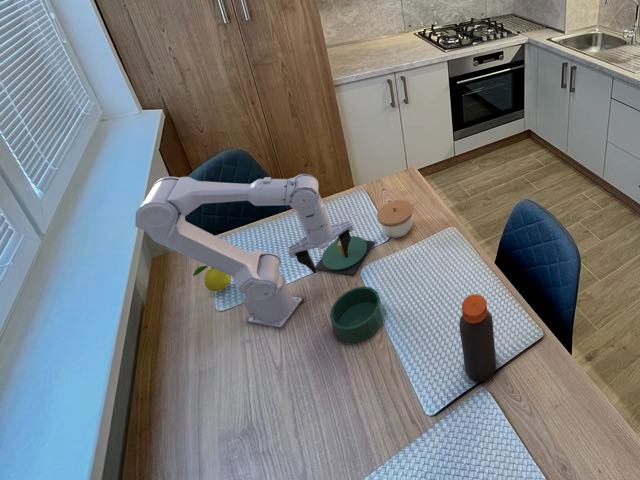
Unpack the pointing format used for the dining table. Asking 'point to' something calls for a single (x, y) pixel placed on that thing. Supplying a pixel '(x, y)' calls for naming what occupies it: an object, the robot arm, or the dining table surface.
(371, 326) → the tin
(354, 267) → the mat
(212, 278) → the lemon
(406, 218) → the trinket box
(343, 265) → the tin lid
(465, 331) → the bottle
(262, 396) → the dining table surface
